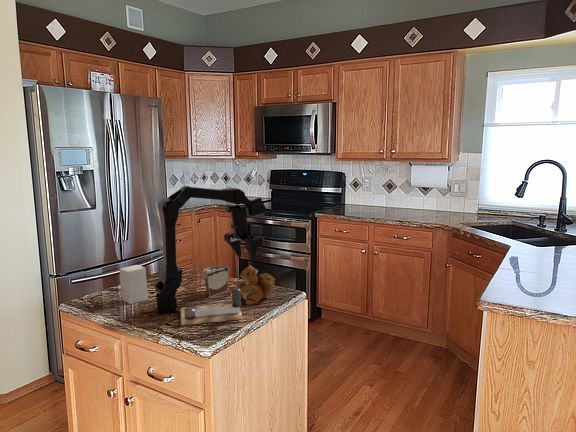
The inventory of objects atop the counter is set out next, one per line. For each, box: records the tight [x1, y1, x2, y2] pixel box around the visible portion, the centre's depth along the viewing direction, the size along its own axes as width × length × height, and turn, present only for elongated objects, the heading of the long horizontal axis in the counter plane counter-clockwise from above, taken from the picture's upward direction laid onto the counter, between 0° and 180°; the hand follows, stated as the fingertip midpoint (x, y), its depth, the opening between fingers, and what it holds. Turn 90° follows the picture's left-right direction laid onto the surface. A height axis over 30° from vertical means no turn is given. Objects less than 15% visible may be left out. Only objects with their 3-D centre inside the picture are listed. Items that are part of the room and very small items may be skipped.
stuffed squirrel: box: [236, 264, 276, 306], centre depth 169 cm, size 10×14×13 cm
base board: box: [180, 302, 243, 326], centre depth 154 cm, size 20×12×2 cm, turn 104°
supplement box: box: [119, 264, 149, 305], centre depth 170 cm, size 7×7×13 cm
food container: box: [201, 265, 231, 298], centre depth 177 cm, size 12×6×10 cm, turn 141°
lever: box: [184, 287, 242, 319], centre depth 150 cm, size 19×4×8 cm, turn 104°
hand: (246, 259), depth 172 cm, fingers open, 9 cm apart
